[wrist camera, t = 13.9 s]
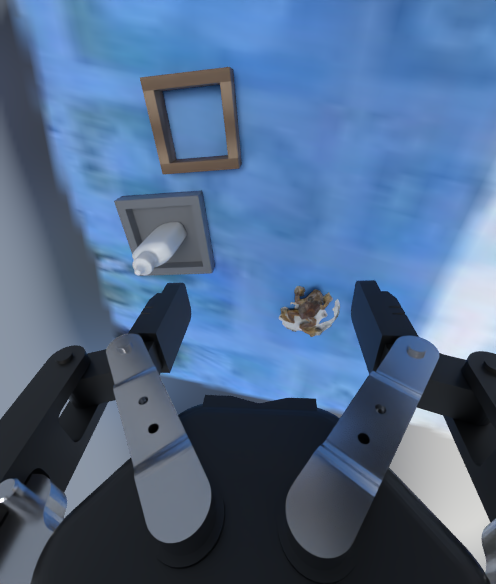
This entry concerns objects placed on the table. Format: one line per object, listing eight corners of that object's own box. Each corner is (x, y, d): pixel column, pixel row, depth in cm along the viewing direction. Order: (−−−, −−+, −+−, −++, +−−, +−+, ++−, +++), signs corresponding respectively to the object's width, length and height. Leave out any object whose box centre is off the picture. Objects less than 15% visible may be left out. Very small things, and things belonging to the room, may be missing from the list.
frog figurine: (281, 272, 46) (281, 284, 43) (351, 287, 47) (356, 300, 44) (265, 323, 53) (264, 337, 50) (326, 336, 53) (330, 351, 50)
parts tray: (122, 196, 41) (114, 201, 39) (202, 190, 40) (198, 195, 38) (145, 268, 48) (139, 275, 46) (214, 265, 46) (211, 273, 44)
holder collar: (150, 79, 33) (139, 77, 31) (233, 69, 32) (229, 66, 29) (170, 169, 38) (162, 174, 36) (241, 164, 37) (239, 168, 35)
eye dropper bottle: (187, 249, 44) (162, 291, 34) (152, 243, 44) (116, 284, 34) (187, 222, 42) (160, 259, 32) (150, 217, 42) (111, 252, 32)
